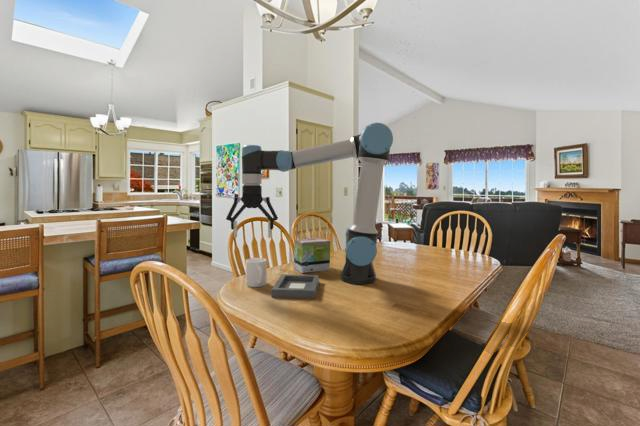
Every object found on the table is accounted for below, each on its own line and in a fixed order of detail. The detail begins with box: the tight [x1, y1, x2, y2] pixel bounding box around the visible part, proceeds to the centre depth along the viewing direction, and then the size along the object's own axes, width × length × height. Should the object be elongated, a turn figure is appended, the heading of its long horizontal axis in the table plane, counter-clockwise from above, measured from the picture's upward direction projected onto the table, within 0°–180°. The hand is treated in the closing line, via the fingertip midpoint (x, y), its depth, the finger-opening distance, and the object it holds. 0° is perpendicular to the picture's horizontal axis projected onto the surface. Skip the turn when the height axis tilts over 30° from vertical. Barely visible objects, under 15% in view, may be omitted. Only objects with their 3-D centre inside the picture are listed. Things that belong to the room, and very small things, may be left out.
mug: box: [245, 257, 267, 288], centre depth 133 cm, size 12×8×10 cm
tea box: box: [293, 237, 331, 274], centre depth 158 cm, size 15×10×15 cm, turn 117°
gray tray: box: [271, 273, 320, 300], centre depth 129 cm, size 16×20×3 cm
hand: (252, 237), depth 132 cm, fingers open, 13 cm apart
